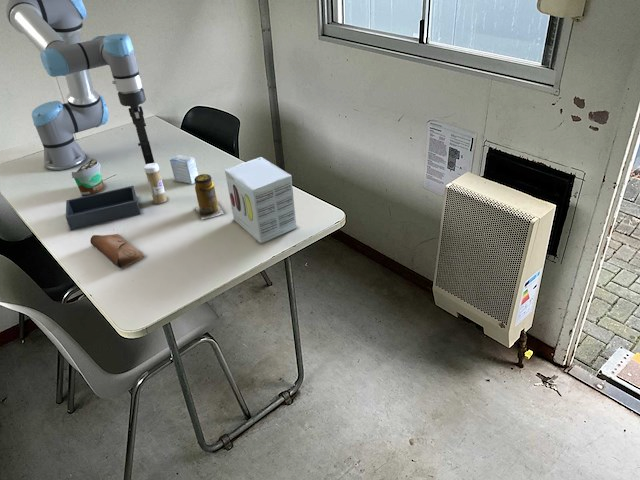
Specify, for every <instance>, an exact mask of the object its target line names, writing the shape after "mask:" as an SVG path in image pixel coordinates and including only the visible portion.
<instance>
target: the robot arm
mask: <svg viewBox="0 0 640 480" xmlns="http://www.w3.org/2000/svg"><path fill="white" fill-rule="evenodd" d="M5 12H6V18H7V20H8V22H9V24H10V25H11V27H13V29H14V30H16V31H17V32H18V33H20V34H23V35H24V36H25V37H26V38H27V39H28V41H30V43H31V44H33V46H34V47H35V48H36V49H37V51H39V52H40V54H39V55H40V60H41V63H42V66H43V68H44V70H45V71H46V73H47V75H48V76H50V77H52V78H56V77H61V76H63V77H65V81H66V84H67V88H68V91H69V93H68V94H67V95H66V99H67V102H65V103H62V101H60V100H53V101H46V102H44V103H42V104H40V105H37V107H35V108H33V110H32V111H31V118H32V122H33V125H34V126H35V129H36V131H37V134H38V136H39V140H40V142H41V145H42V147H43V162H42V163H43V165H45V168H46V169H47V170H49V171H64V170H68V169H72V168H75V167H77V166H79V165H82V164H83V163H84V162H85V161H86V159H87V156H86V153H85V151H84V150H83V149H82V147H81V146H80V145H79V144H78V143H77V141H76V138H75V136H74V134H77V133H81V132H84V131H88V130H91V129H94V128H99V127H100V126H103V125H106V124H107V123H108V122H109V117H110V116H109V108H108V106H107V102H106V100H105V98H104V97H103V96H102V95H101V94H99V92H98V91H97V90H95V89H94V85H93V82H92V77H91V73H90V70H92V69H96V68H100V67H104V66H109V68H110V72H111V75H112V78H113V80H112V82H111V83H112V84H113V85H115V89H116V91H117V97H118V100H119V104H120V105H121V106H123V107H129V108H127V109H128V113H129V117H131V120H132V124H133V126H134V127H135V130H136V134H137V138H138V141H139V142H138V143H137V145H138V147H140V149H141V152H142V156H143V159H144V163H145V165H146V164H150V163H156V162H155V159H154V156H153V151H152V148H151V144H150V141H149V138H148V134H147V130H146V127H147V125H146V121H145V120H146V119H145V117H144V111H143V107H142V104H144V103H145V102H146V100H147V98H146V95H145V94H146V93H145V90H144V88H143V87H144V86H143V81H142V78H141V73H140V71H139V67H138V63H137V58H136V54H135V48H134V46H133V43H132V40H131V37H130V36H129V34H126V33H112V34H109V35H96V36H95V37H94V38H92V39H91V40H86V41H83V40H82V35H81V30H82V29H83V28H84V24H83V20H86V19H87V17H88V16H87V9H86V7H85V5H84V2H83V0H8V2H7V5H6V10H5Z"/></svg>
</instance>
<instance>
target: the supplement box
mask: <svg viewBox="0 0 640 480" xmlns="http://www.w3.org/2000/svg"><path fill="white" fill-rule="evenodd" d="M224 174H225V177H226V184H227V189H228V195H229V201H230V206H231V211H232V217H233V220H234V221H235V222H236V223H237V224H239V225H240V227H241V228H243V229H244V230H245V231H246V232H247V233H248V234H249V235H251V236H252V237H253V238H254V239H255V240H256V241H257V242H258V243H259V244H264V243H266V242H268V241H270V240H272V239H274V238H277V237H279V236H281V235H284V234H286V233H288V232H290V231H293V230H295V229H297V227H298V226H297V218H296V209H295V208H296V207H295V199H294V187H293V178H292V174H291V173H288V172H287V171H285V170H284V169H282V168H280V166H278V165H276V164H274V163H272V162H271V161H269V160H267V159H266V158H264V157H262V156H260V157H256V158H253V159H250V160H248V161H244V162H242V163H239V164H236V165H235V166H234V165H233V166H230V167H228V168H225V169H224Z"/></svg>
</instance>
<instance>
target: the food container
mask: <svg viewBox="0 0 640 480" xmlns="http://www.w3.org/2000/svg"><path fill="white" fill-rule="evenodd" d="M101 168H102V165H101V163H100V162H99V160H98V159H96V158H95V157H89V161H88V162H86V163H85V164H83V165H81V166H80V168H79V169H78V170H76V171H71V178H72V179H74V181H75V183H76V185H77V188H78V190H79V192H80V195H81V197H84V196H89V195H93V194H98V193H102V192H103V190H104V189H105V185H104V182H103V177H102V173H101Z"/></svg>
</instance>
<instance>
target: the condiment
mask: <svg viewBox="0 0 640 480" xmlns="http://www.w3.org/2000/svg"><path fill="white" fill-rule="evenodd" d="M194 191H195V195H196V200H197V204H198V206H197V207H195V210H196V212H197V214H198V215H199V217H200V218H201V220H207V219H210V218H211V219H212V218H214V217H217V216H221V215H224V214H225V212H224V211H223V209H222V208H221V206H220V205H219V203H218V198H217V193H216V188H215V184H214V183H213V180H212V176H211V175H210V174H207V173H202V174H198V176H197V177H195V182H194Z"/></svg>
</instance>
